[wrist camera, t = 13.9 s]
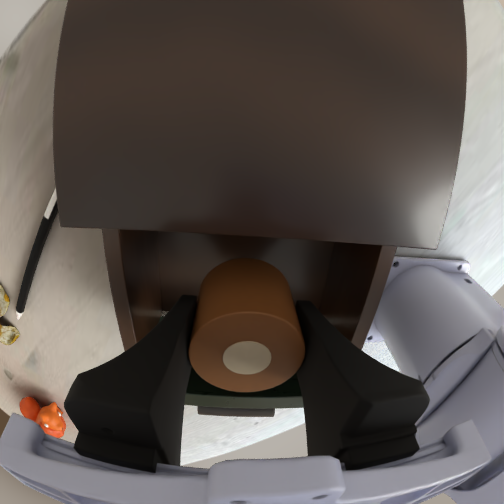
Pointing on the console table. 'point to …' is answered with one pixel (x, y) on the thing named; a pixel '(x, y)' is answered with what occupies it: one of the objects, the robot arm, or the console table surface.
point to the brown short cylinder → (246, 327)
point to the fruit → (6, 333)
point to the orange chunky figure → (44, 416)
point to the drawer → (232, 247)
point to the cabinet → (261, 117)
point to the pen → (36, 253)
